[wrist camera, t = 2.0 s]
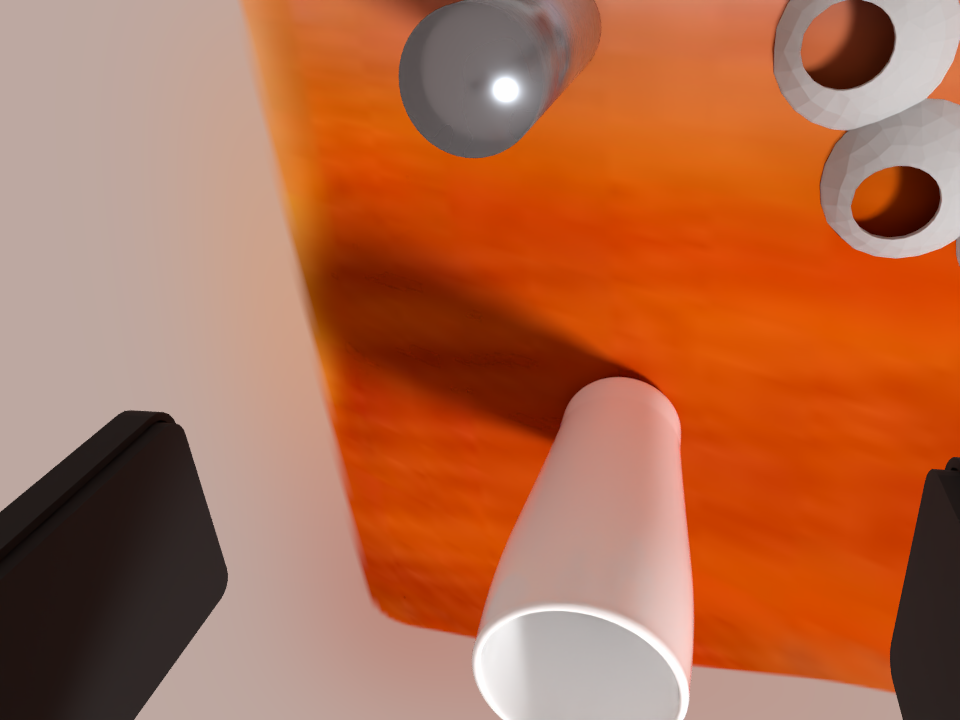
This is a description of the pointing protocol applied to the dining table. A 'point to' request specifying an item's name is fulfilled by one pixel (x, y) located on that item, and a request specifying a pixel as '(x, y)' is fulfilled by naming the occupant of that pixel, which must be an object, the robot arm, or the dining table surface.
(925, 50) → the round palette
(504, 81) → the pin
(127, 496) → the robot arm
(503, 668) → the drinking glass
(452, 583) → the dining table surface
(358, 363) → the dining table surface
